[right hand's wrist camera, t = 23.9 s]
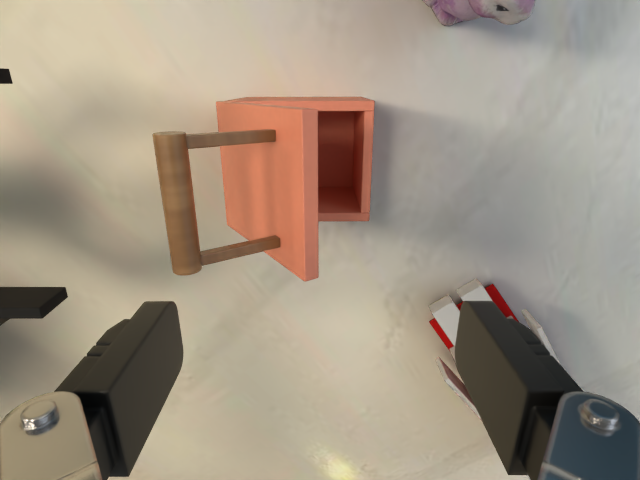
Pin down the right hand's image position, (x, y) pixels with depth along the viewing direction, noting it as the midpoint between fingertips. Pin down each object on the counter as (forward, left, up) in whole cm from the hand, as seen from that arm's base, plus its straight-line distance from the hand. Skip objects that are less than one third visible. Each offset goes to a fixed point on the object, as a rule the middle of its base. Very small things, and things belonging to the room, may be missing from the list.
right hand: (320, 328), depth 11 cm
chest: (-2, 0, -35) cm, 35 cm away
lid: (-4, 0, -19) cm, 19 cm away
